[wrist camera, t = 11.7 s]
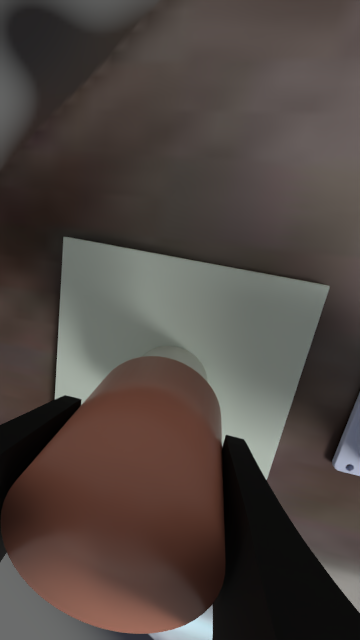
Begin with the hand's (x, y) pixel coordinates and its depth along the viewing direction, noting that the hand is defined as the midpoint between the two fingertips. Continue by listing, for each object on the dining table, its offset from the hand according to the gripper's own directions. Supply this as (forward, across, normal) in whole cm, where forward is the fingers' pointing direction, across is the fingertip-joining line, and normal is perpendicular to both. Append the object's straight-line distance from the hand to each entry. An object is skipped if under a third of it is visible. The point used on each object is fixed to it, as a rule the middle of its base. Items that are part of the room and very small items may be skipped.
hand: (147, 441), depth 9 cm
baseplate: (+9, 0, +2) cm, 10 cm away
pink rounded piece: (+1, 0, 0) cm, 1 cm away
